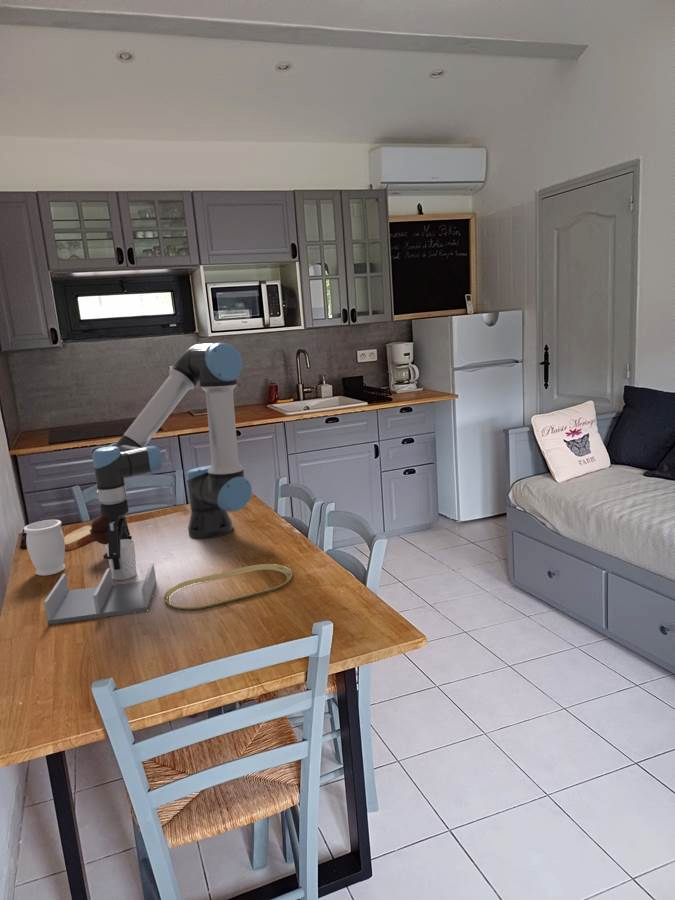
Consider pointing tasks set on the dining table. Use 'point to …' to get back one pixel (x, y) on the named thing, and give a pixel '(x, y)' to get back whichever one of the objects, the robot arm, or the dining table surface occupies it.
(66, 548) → the slice of bread
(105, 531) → the ice cream bowl
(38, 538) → the jar
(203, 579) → the brass oval ring
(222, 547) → the dining table surface
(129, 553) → the white cup
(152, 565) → the dish rack
